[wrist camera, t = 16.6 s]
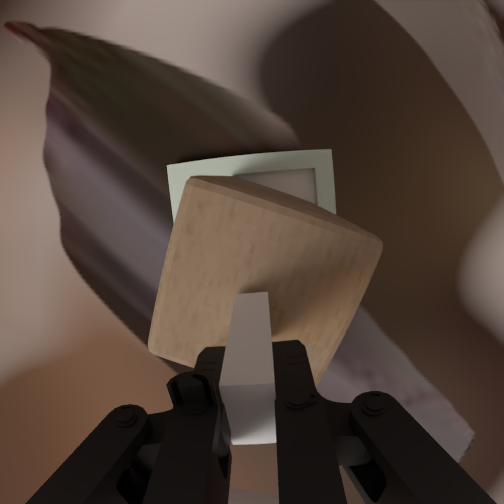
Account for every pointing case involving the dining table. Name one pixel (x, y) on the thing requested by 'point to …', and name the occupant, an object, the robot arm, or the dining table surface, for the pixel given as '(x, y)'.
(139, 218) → the dining table surface
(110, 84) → the dining table surface
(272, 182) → the square tray
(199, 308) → the wooden block
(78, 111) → the dining table surface
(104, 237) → the dining table surface
